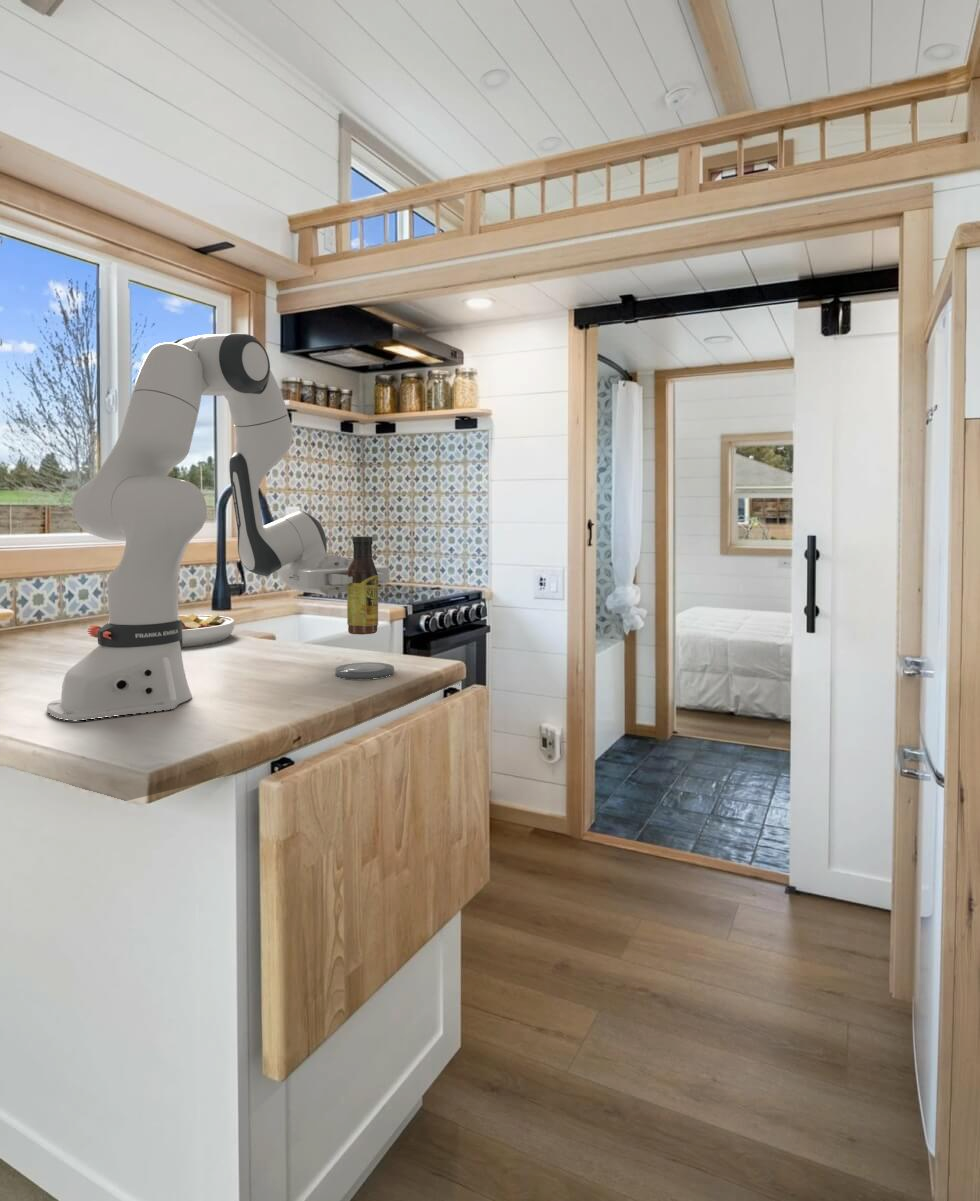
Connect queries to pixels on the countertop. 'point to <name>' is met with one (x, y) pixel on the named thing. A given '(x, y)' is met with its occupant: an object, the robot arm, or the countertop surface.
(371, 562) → the sauce bottle
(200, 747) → the countertop surface
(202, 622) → the bowl
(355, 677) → the slate trivet
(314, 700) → the countertop surface
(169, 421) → the robot arm
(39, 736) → the countertop surface
